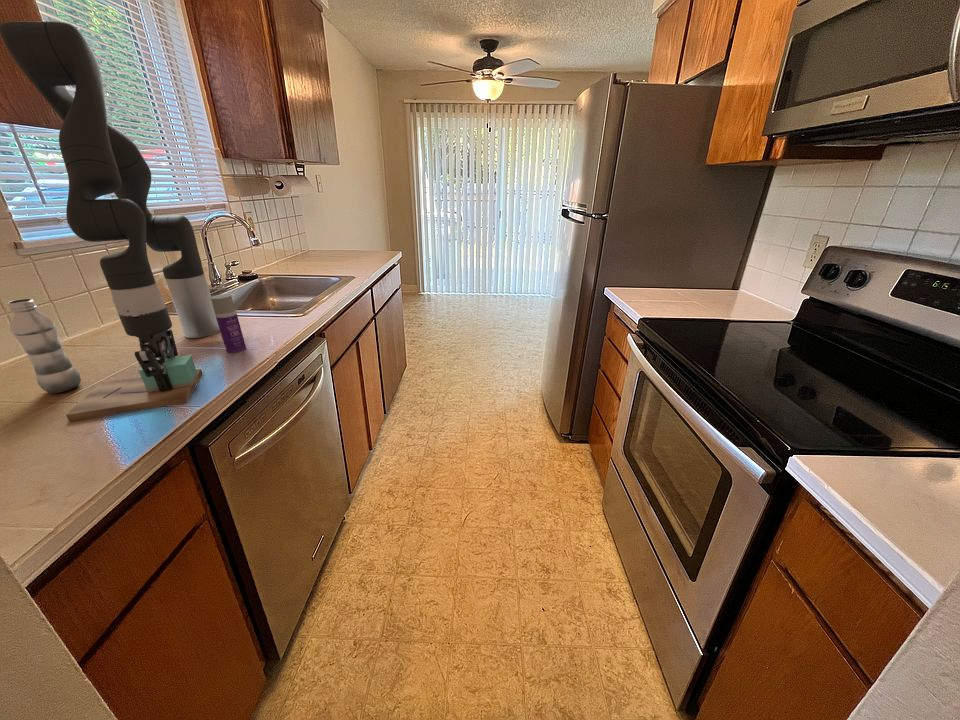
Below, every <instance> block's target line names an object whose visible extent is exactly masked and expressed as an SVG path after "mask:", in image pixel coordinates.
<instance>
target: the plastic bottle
mask: <svg viewBox="0 0 960 720" xmlns="http://www.w3.org/2000/svg"><path fill="white" fill-rule="evenodd" d="M7 306H8V308H9V311H10V313H13V316H12V318H11V321H10V323H9V331H10V332H11V334H12V335H13V337H14V338H15V339H16V341H18V343H19V344H20V346H21V347H22V348H23V350H24V352H25V354H27V357H28V358H29V359H30V362H31V363H30V364H31V365H32V367H33V368H32V369H33V370H34V373H35V379H36V381H37V383H38V386H39V387H40V388H41V389H42V391H45V392H47V393H48V394H56V393H62V392H66V391H69V390H72V389H74V388H77V387H78V386H80V384H81V381H82V379H81V375H80V372H79V371H78V370H77V368H76V367H75V366H74V365H73V364H72V362H71V360H70V359H69V358H68V356H67V354H66V352H65V350H64V348H63V346H62V343H61V340H60V338H59V333H58V329H57V326H56V323H55V321H54V320H53V319H52V318H51V317H50V316H47V315H46V314H44V313H42V312H41V311H39V310H37V309H38V305H37V304H36V302H35V300H34V299H33V298H21V299H14V300H11V301H8V302H7Z"/></svg>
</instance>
